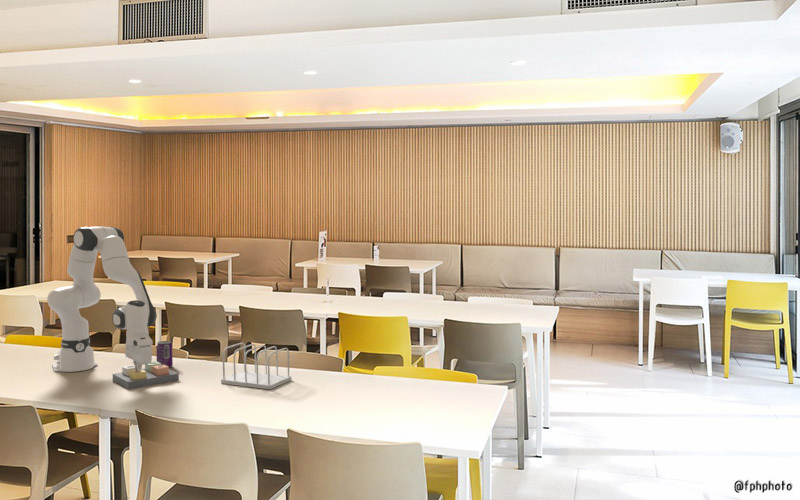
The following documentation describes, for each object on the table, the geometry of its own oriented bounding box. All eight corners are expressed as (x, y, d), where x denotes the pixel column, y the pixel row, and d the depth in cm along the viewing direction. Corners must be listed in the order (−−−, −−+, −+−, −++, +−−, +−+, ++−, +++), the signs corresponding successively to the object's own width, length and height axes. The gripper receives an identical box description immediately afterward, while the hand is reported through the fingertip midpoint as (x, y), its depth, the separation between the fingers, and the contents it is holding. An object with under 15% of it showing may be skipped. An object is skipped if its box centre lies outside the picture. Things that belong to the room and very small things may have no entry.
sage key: (145, 370, 303) (144, 362, 303) (156, 368, 307) (156, 360, 307) (149, 372, 299) (149, 364, 299) (161, 370, 303) (161, 362, 303)
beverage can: (175, 365, 323) (174, 340, 323) (168, 369, 316) (168, 344, 316) (160, 365, 324) (160, 340, 323) (154, 368, 317) (153, 343, 316)
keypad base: (112, 380, 296) (112, 373, 296) (161, 372, 311) (161, 365, 311) (128, 389, 283) (128, 382, 283) (178, 380, 298) (178, 373, 298)
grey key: (122, 373, 296) (122, 366, 296) (134, 371, 300) (134, 364, 300) (127, 376, 293) (126, 368, 292) (138, 374, 296) (138, 366, 296)
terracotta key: (152, 373, 297) (152, 365, 297) (163, 371, 301) (163, 364, 301) (157, 375, 294) (157, 368, 293) (168, 373, 297) (168, 366, 297)
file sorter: (291, 380, 300) (291, 345, 299) (269, 390, 284) (269, 354, 283) (244, 374, 309) (244, 340, 308) (220, 384, 293) (220, 348, 292)
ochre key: (129, 378, 291) (129, 370, 290) (141, 376, 294) (141, 368, 294) (134, 380, 287) (134, 373, 287) (146, 378, 290) (146, 371, 290)
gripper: (120, 336, 295) (121, 367, 296) (139, 343, 280) (140, 376, 281) (135, 334, 299) (135, 365, 300) (154, 341, 284) (155, 374, 285)
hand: (138, 370), depth 290 cm, fingers closed
